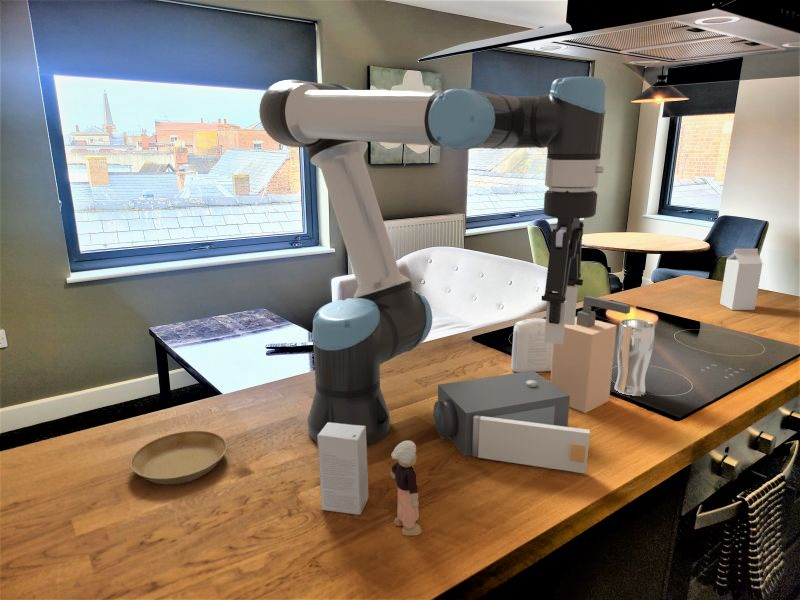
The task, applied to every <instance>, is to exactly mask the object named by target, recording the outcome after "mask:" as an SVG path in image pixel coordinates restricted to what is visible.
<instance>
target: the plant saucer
mask: <svg viewBox="0 0 800 600" xmlns="http://www.w3.org/2000/svg"><path fill="white" fill-rule="evenodd" d="M227 449H228V442H227V440H226V439H225V438H224V436H222V435H220V434H218V433H216V432H212V431H206V430H185V431H179V432H174V433H170V434H166V435H163V436H161V437H158V438H156V439H154V440H151V441H149V442H147V443H146V444H144V445H142V446H141V447H140V448H139V449H138V450H137V451H135V452H134V454H133V455H132V457H131V459H130V464H129V465H130V469H131V470H132V471H133V472H134V473H135V474H137V475H138V476H139V477H141V478H143V479H145V480H147V481H149V482H151V483H154V484H160V485H166V486H167V485H179V484H185V483H188V482H190V481H194V480H197V479H199V478H201V477H203V476H205V475H206V474H207V473H210V472H211V471H212V470H213V468H215V467H216V466H217V465H218V464H219V462H220V461H221V460H222V459H223V457H224V456H225V454H226V452H227Z"/></svg>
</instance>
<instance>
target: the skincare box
mask: <svg viewBox="0 0 800 600" xmlns="http://www.w3.org/2000/svg"><path fill="white" fill-rule="evenodd" d="M317 440H318V442H317V455H318V467H319V470H318V471H319V485H320V503H321V511H327V512H336V513H345V514H350V515H357V516H358V515H359V516H360V515H362V513H363V511H364V508H365V506H366V504H367V502H368V500H369V482H368V481H369V480H368V478H369V477H368V475H369V473H368V472H369V471H368V451H367V449H368V448H367V447H368V445H366V426H360V425H349V424H339V423H329V422H328V423H327V424H326V425H325V427H324V428H323V429H322V430H321V432H320V433H319V434H318V435H317Z"/></svg>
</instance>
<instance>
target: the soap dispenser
mask: <svg viewBox="0 0 800 600" xmlns="http://www.w3.org/2000/svg"><path fill="white" fill-rule="evenodd" d="M592 307H597V308H600V309H604V310H608V311H609V310H610V311H613V312H617V313H621V314H626V315H628V314H630V313H631V304H627V303H623V302H618V301H614V300H610V299H606V298H600V297H596V296H591V295H585V296H583V301H582V310H580V311H577V315H576V316H575V325H566V324H565V329H564V342H563V344H556V343H553V355H552V368H551V371H550V382H551V383H552V384H554V385H555V386H557V387H558V388H560V389H561V390H562V391H564V392H565V393H567V394H568V395H570V402H569V408H571V409H574V410H576V411H579V412H581V413H584V414H586V413H589V412H590V411H592V410H594V409H597V408H598V407H600V406H602V405H604V404H605V403H608V402H609V401H610V395H611V385H612V384H611V383H612V374H613V365H614V364H613V363H614V355H615V354H614V353H615V348H616V346H615V345H616V336H617V325H616V324H612V323H609V322H604V321H602V320H596V312H595V311H592Z"/></svg>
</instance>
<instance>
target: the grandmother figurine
mask: <svg viewBox="0 0 800 600" xmlns="http://www.w3.org/2000/svg"><path fill="white" fill-rule="evenodd" d="M416 452H417V445H416V444H415V442H414V441H412V440H403V441H401V442H400V443H398V444H397V445H396V446H395V448H394V450H393V451H392V452H391V455H390V456H391V457H392V459H393V460H397V461H396V462H395V463H394V464H392V465H391V472H390V477H391V478H392V479H395V484H396V486H397V512H396V513H397V517H395V518H394V520H393V523H394V524H395V526H397V527H402V528H401V534H402V535H404V536H407V537H409V536H420V535H421V534H422V532H423V530H422V527H421V525H420V524H419V523H418V522H416V521H418V520H419V518H420V514H419V513H420V512H419V487H418V483H417V482H418V481H417V472H416V471H415V468H414V467H413V466H414V465H415V464H416V461H417V454H416Z"/></svg>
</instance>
